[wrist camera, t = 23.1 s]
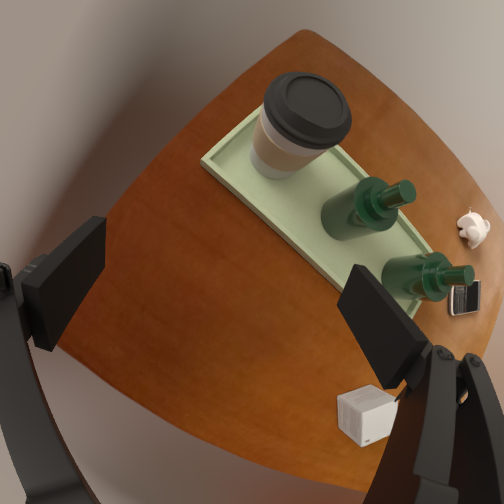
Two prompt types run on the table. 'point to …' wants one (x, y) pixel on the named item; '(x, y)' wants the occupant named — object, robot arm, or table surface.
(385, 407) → the product box
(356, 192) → the bottle mid
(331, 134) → the coffee cup
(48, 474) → the robot arm
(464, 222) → the elephant figurine
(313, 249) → the tray
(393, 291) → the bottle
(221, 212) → the table surface
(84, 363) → the table surface
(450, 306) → the cell phone
